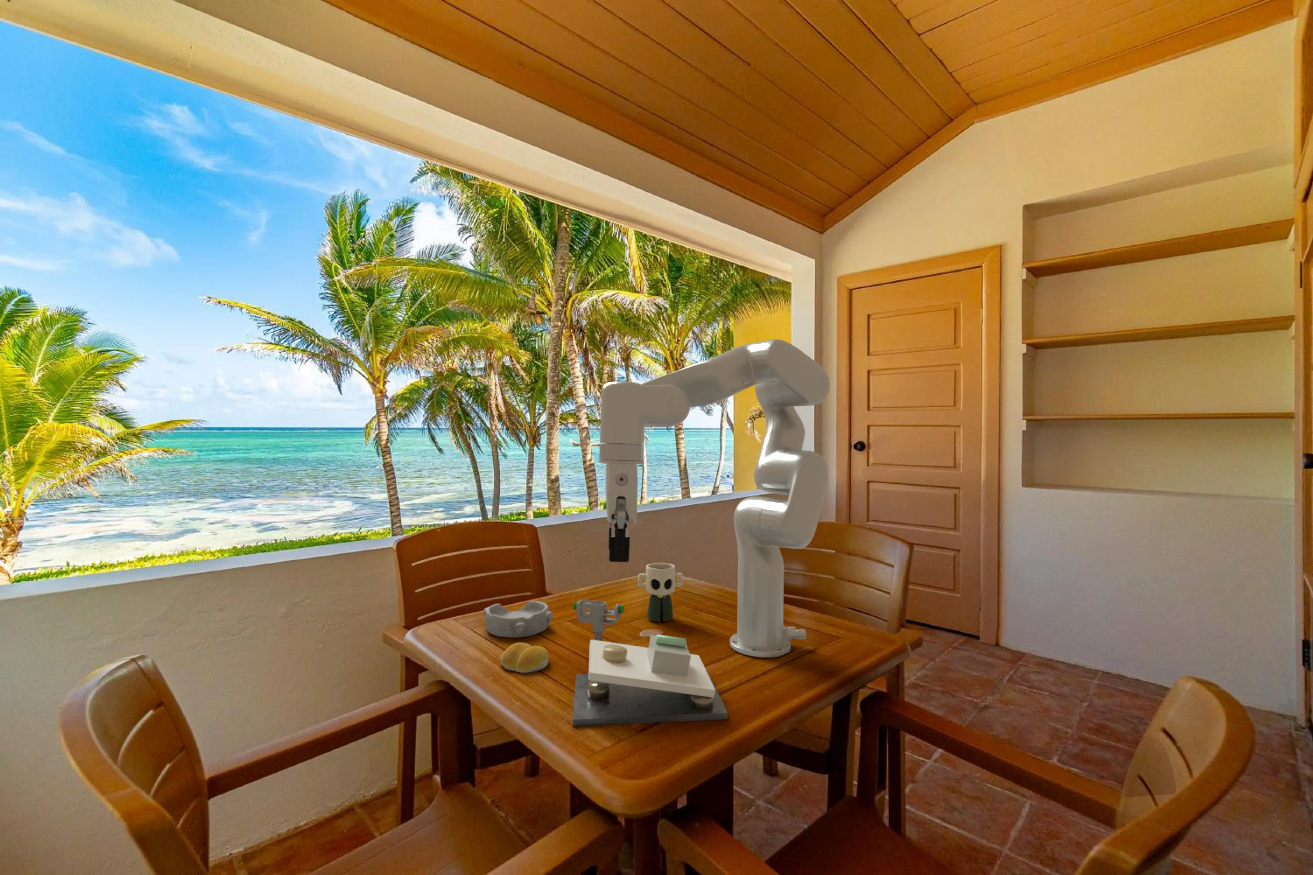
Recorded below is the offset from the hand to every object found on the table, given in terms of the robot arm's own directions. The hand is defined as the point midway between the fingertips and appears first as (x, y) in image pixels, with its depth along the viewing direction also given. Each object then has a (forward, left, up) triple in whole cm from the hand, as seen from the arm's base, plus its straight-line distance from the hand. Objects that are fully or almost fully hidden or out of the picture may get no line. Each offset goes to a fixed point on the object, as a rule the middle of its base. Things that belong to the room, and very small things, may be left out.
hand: (618, 555), depth 94 cm
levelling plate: (-5, +1, -19) cm, 20 cm away
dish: (+21, -35, -24) cm, 47 cm away
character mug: (-12, -39, -24) cm, 47 cm away
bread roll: (+17, -15, -24) cm, 33 cm away
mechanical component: (+3, -20, -24) cm, 31 cm away
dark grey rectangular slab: (-5, +1, -24) cm, 24 cm away
